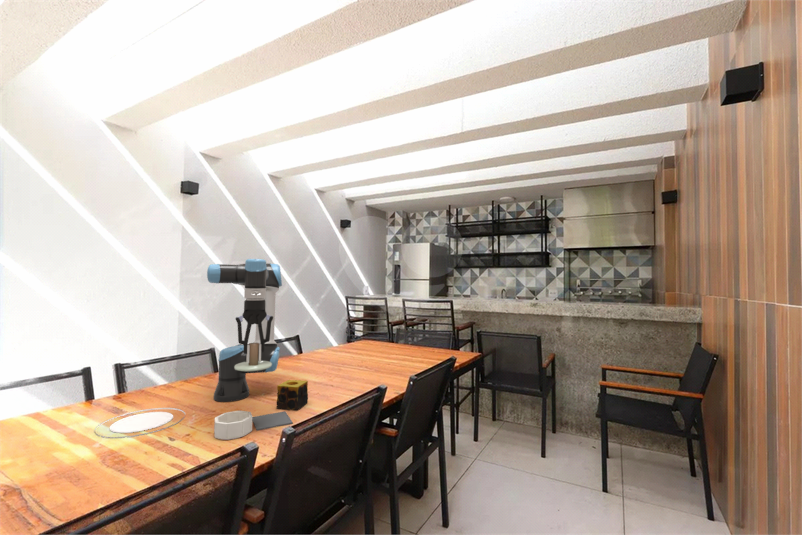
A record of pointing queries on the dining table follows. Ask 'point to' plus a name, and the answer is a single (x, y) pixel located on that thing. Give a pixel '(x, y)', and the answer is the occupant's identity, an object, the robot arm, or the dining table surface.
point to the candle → (292, 395)
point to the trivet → (271, 420)
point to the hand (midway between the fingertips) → (253, 361)
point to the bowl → (232, 425)
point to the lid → (253, 361)
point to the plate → (141, 422)
